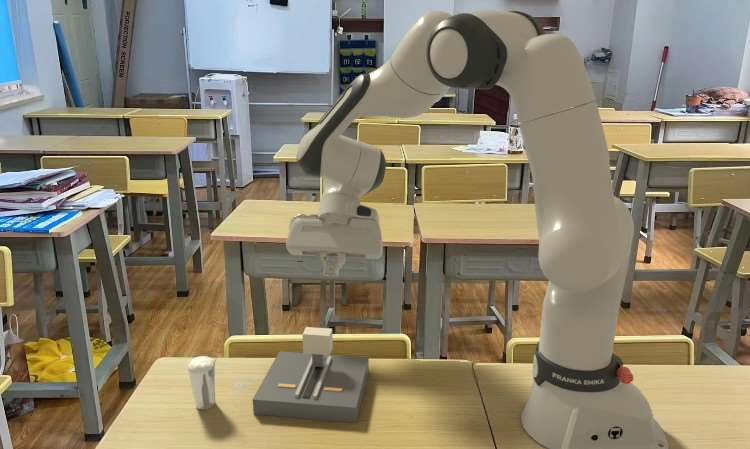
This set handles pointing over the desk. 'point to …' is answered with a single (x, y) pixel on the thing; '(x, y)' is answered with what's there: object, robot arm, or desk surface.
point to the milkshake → (203, 381)
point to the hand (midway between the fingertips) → (330, 275)
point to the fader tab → (317, 344)
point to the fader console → (313, 387)
